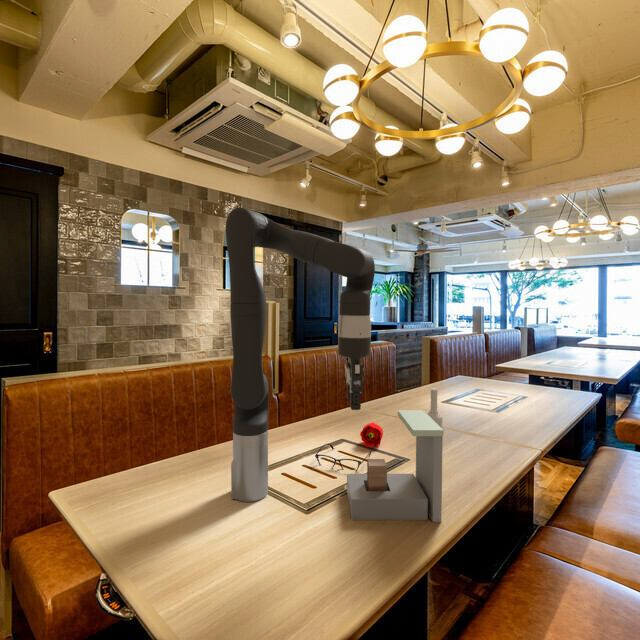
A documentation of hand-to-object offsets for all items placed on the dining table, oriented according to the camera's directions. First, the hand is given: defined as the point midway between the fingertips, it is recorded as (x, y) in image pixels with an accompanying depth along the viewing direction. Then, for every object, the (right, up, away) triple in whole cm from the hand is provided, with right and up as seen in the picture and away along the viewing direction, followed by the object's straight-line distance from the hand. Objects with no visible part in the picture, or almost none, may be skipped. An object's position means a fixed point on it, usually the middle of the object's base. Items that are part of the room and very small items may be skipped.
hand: (353, 404), depth 91 cm
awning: (+17, -27, +9) cm, 34 cm away
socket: (+9, -27, +9) cm, 30 cm away
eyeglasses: (0, -27, +38) cm, 47 cm away
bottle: (+27, -27, +31) cm, 49 cm away
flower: (+11, -26, +53) cm, 60 cm away
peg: (+7, -26, +9) cm, 29 cm away
